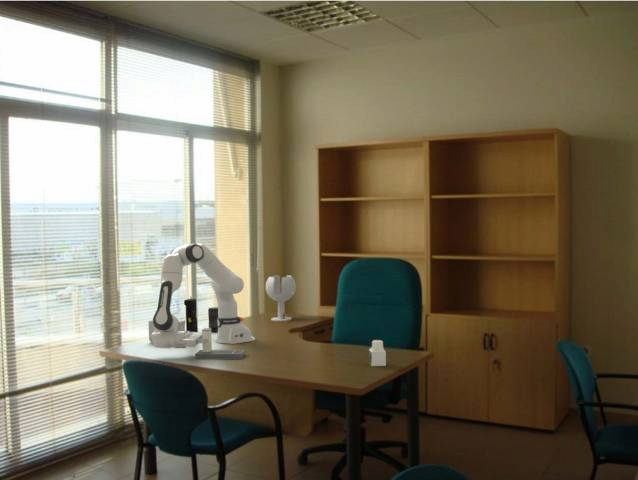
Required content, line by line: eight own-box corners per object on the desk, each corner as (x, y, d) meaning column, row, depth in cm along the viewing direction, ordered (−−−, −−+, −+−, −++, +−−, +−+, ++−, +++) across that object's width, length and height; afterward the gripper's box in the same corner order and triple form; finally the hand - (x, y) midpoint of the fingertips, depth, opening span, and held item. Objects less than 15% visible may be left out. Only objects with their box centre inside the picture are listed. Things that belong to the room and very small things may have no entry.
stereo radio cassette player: (148, 343, 394) (147, 308, 393) (156, 340, 401) (155, 306, 400) (179, 345, 386) (178, 310, 385) (187, 342, 394) (186, 308, 393)
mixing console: (195, 359, 349) (195, 354, 349) (200, 354, 360) (200, 349, 360) (241, 359, 347) (241, 353, 347) (245, 354, 358) (245, 349, 358)
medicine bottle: (368, 363, 333) (368, 338, 333) (383, 362, 334) (383, 338, 333) (371, 366, 326) (371, 341, 326) (386, 365, 327) (385, 341, 326)
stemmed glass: (263, 321, 462) (262, 277, 461) (270, 317, 482) (269, 274, 481) (292, 322, 459) (291, 277, 457) (298, 317, 479) (297, 274, 477)
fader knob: (202, 352, 351) (201, 329, 351) (204, 350, 357) (204, 328, 356) (209, 352, 351) (209, 329, 351) (211, 350, 356) (211, 328, 356)
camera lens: (223, 330, 430) (223, 307, 430) (217, 332, 423) (217, 308, 422) (212, 330, 433) (211, 306, 432) (206, 332, 425) (205, 308, 425)
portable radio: (193, 338, 407) (192, 296, 405) (184, 338, 408) (183, 296, 407) (198, 335, 414) (197, 294, 413) (189, 335, 415) (188, 294, 414)
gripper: (176, 337, 344) (203, 337, 343) (187, 330, 364) (212, 330, 363) (177, 349, 344) (204, 349, 343) (187, 341, 365) (213, 341, 364)
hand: (208, 339), depth 354 cm, fingers closed on fader knob, 5 cm apart
